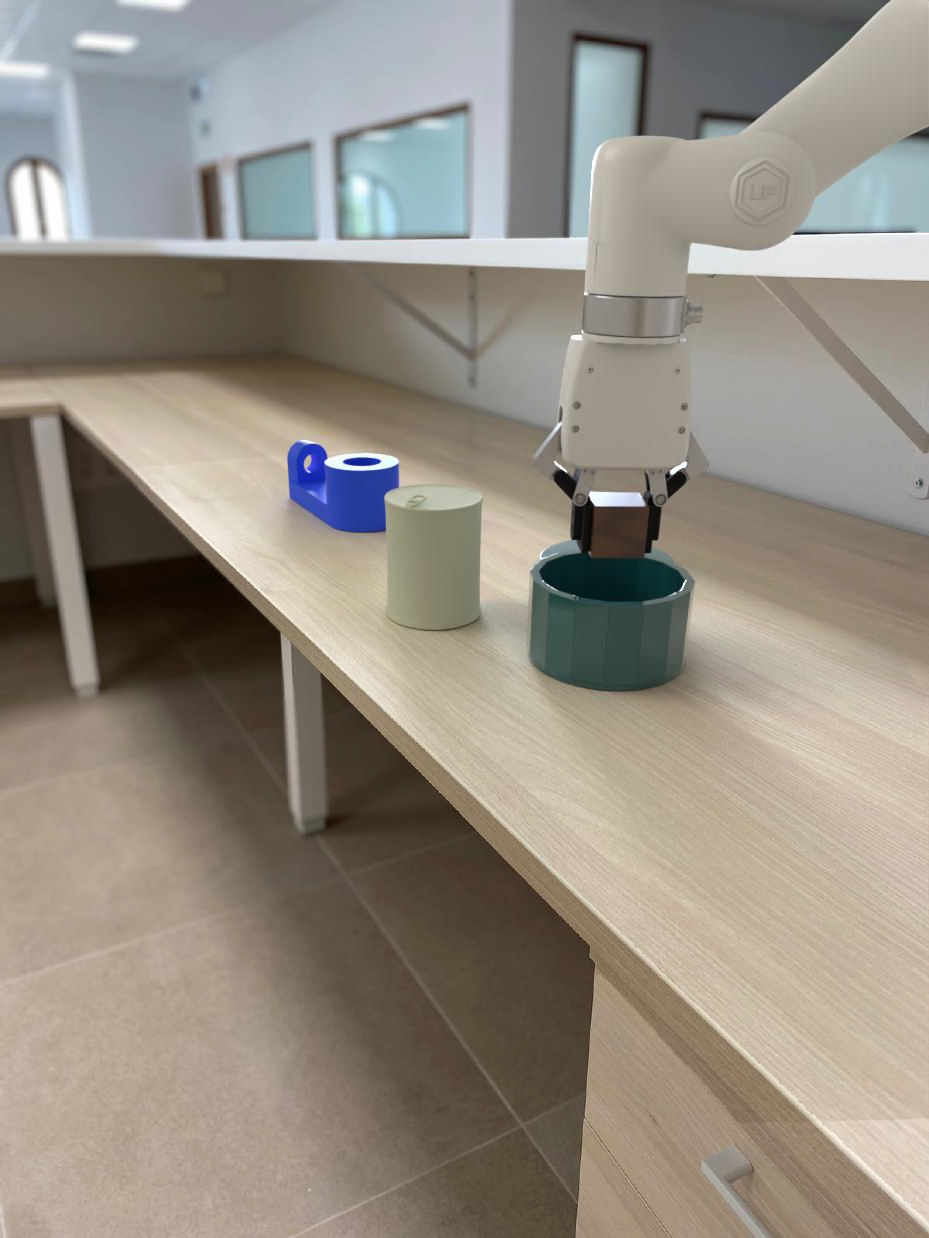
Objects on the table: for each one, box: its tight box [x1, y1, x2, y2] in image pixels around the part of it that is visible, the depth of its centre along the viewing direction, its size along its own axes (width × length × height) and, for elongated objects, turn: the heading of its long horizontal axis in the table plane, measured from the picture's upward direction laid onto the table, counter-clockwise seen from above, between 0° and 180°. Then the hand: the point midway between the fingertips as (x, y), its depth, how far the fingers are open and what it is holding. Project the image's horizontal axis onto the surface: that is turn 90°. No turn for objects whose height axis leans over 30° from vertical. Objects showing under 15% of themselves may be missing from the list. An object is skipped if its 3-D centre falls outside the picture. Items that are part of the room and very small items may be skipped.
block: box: [588, 491, 649, 559], centre depth 77 cm, size 4×4×4 cm
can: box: [384, 483, 484, 631], centre depth 88 cm, size 9×9×12 cm
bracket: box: [286, 439, 400, 533], centre depth 119 cm, size 20×9×8 cm, turn 38°
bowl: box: [526, 550, 696, 692], centre depth 80 cm, size 14×14×8 cm
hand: (613, 546), depth 78 cm, fingers closed on block, 4 cm apart
